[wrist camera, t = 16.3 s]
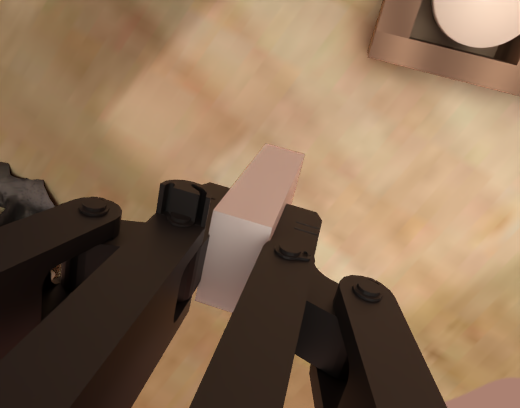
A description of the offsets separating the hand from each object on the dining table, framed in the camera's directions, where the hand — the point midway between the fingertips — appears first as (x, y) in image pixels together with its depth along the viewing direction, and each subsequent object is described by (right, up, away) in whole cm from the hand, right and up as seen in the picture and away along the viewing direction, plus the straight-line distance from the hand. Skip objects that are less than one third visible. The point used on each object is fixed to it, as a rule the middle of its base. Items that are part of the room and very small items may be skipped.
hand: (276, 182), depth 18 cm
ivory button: (+16, +16, +21) cm, 31 cm away
